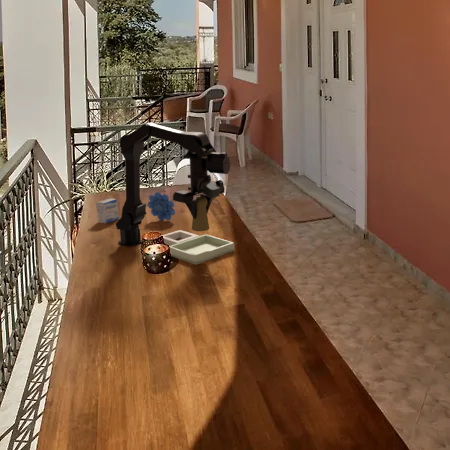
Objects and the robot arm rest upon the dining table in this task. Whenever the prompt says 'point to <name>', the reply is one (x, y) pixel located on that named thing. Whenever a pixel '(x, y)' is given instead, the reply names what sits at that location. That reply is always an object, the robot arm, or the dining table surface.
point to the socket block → (171, 237)
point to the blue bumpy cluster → (161, 206)
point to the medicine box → (107, 210)
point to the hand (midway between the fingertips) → (200, 217)
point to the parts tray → (201, 249)
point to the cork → (201, 216)
